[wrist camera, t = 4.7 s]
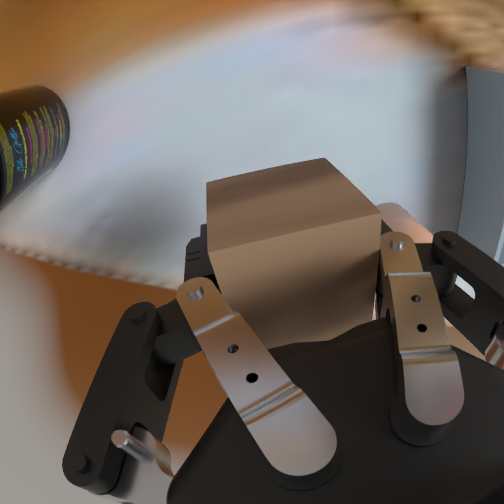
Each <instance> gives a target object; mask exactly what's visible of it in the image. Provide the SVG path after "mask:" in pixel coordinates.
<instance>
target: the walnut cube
mask: <svg viewBox="0 0 504 504" xmlns="http://www.w3.org/2000/svg"><path fill="white" fill-rule="evenodd" d="M206 195H207V247H208V255H209V258H210V261H211V264H212V267H213V270H214V273H215V276H216V279H217V282H218V285H219V288H220V291H221V294H222V296H223V298H224V299H225V301H226V302H227V303H228V305H229V306H230V308H231V309H232V310H233V312H236V311H238V312H239V313H240V314H241V316H242V317H243V318H244V320H245V321H246V322H247V324H248V325H249V326H250V328H251V329H252V330H253V332H254V333H255V334H256V336H257V337H258V338H259V340H260V341H261V342H262V344H263V345H264V346H265V348H266V349H270V348H274V347H279V346H283V345H287V344H291V343H295V342H313V341H321V340H325V339H328V338H332V337H335V336H339V335H341V334H343V333H345V332H346V331H348V330H350V329H352V328H354V327H355V326H357V325H360V324H364V323H367V322H370V321H372V316H373V309H374V301H375V293H376V284H377V274H378V263H379V250H380V236H381V216H382V213H381V212H380V211H379V210H378V209H377V208H376V206H375V205H374V204H373V203H372V202H371V201H370V200H369V199H368V198H367V197H366V196H365V195H364V194H363V193H362V192H361V191H360V190H358V189H357V188H356V187H355V186H354V185H353V184H352V183H351V182H350V181H349V180H348V179H347V178H346V177H345V176H344V175H343V174H342V173H341V172H340V171H339V170H337V169H336V168H335V167H334V166H333V165H332V164H331V163H330V162H329V161H328V160H327V159H325V158H319V159H314V160H308V161H303V162H298V163H293V164H287V165H282V166H277V167H273V168H268V169H263V170H258V171H254V172H249V173H245V174H240V175H236V176H232V177H228V178H223V179H219V180H215V181H211V182H207V183H206Z"/></svg>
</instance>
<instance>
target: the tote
mask: <svg viewBox="0 0 504 504" xmlns="http://www.w3.org/2000/svg"><path fill="white" fill-rule="evenodd" d="M466 78H467V100H468V133H467V156H466V169H465V180H464V190H463V198H462V206H461V213H460V219H459V225H458V231H457V234H458V235H459V236H461V237H462V238H464V239H465V240H467V241H468V242H470V243H471V244H473V245H474V246H476V247H477V248H478V249H480V250H481V251H483V252H484V253H485V254H487V255H488V256H490V257H491V258H492V259H494V260H495V261H496V262H498V263H499V264H500V265H502V266H503V267H504V72H500V71H494V70H489V69H482V68H476V67H468V66H466Z"/></svg>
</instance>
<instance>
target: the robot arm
mask: <svg viewBox="0 0 504 504" xmlns="http://www.w3.org/2000/svg"><path fill="white" fill-rule="evenodd" d="M185 261H186V262H185V273H184V283H183V284H182V285H180V287H179V288H178V289H177V291H176V298H175V299H174V300H173V301H171V302H169V303H168V304H165V305H163V306H161V307H159V308H157V309H156V307H155V306H154V305H153V304H152V303H149V302H140V303H137V304H134V305H133V306H131V307H130V308H128V309H127V310H126V311H125V312H124V314H123V316H122V317H121V319H120V321H119V324H118V326H117V328H116V330H115V332H114V334H113V336H112V338H111V341H110V343H109V345H108V347H107V349H106V351H105V354H104V356H103V358H102V360H101V363H100V365H99V367H98V370H97V372H96V374H95V376H94V379H93V381H92V384H91V386H90V388H89V391H88V393H87V396H86V398H85V401H84V403H83V406H82V408H81V411H80V413H79V416H78V418H77V421H76V424H75V426H74V429H73V432H72V434H71V437H70V440H69V443H68V445H67V449H66V451H65V454H64V457H63V462H62V467H63V472H64V475H65V477H66V478H67V480H68V481H70V482H71V483H72V484H74V485H76V486H78V487H81V488H83V489H86V490H88V491H89V492H90V493H92V494H94V495H97V496H99V497H102V498H105V499H107V500H110V501H113V502H119V503H122V504H504V267H503V266H502V265H500V264H499V263H498V262H496V261H495V260H494V259H492V258H491V257H490V256H488V255H487V254H485V253H484V252H483V251H481V250H480V249H478V248H477V247H476V246H474V245H473V244H471V243H470V242H468V241H467V240H465V239H464V238H462V237H461V236H459V235H458V234H456V233H454V232H450V231H440V232H437V233H435V234H434V236H433V240H432V243H414V241H413V239H412V238H411V237H410V236H409V235H407V234H405V233H402V232H393V230H392V229H391V228H390V227H389V226H388V225H387V224H386V223H385V222H384V221H383V220H382V218H381V236H380V250H379V263H378V274H377V284H376V293H375V311H376V320H373V321H370V322H367V323H364V324H360V325H357V326H355V327H354V328H352V329H350V330H348V331H346V332H345V333H343V334H341V335H339V336H337V337H336V338H334V339H332V340H329V341H313V342H295V343H291V344H287V345H283V346H279V347H274V348H270V349H266V348H265V346H264V345H263V344H262V342H261V341H260V340H259V338H258V337H257V336H256V334H255V333H254V332H253V330H252V329H251V328H250V326H249V325H248V324H247V322H246V321H245V320H244V318H243V317H242V316H241V314H240V313H239V312H238V311H236V312H233V310H232V309H231V308H230V306H229V305H228V303H227V302H226V301H225V299H224V298H223V296H222V294H221V291H220V288H219V285H218V282H217V279H216V276H215V273H214V270H213V267H212V264H211V261H210V258H209V255H208V247H207V223H206V224H202V225H201V233H200V237H197V238H193V239H191V240H190V242H189V243H188V245H187V246H186V257H185ZM457 275H458V276H460V277H461V278H462V279H463V280H465V281H466V282H467V283H468V284H470V285H471V286H472V287H473V289H474V291H475V299H473V298H472V297H470V296H469V295H468V294H467V293H466V292H464V291H463V290H462V289H461V288H460V287H458V286H457V285H456V284H455V282H456V278H457ZM443 316H444V317H445V318H446V319H447V320H448V321H449V322H450V323H451V324H452V325H453V326H454V327H455V328H456V329H458V330H459V331H460V332H461V333H462V334H463V335H464V336H465V337H466V338H467V339H468V340H469V341H470V342H471V343H472V344H473V345H474V346H475V347H476V348H477V349H478V350H479V351H480V352H481V353H482V354H483V355H484V356H485V360H486V361H484V360H481V359H479V358H477V357H475V356H473V355H471V354H469V353H467V352H465V351H463V350H460V349H458V348H456V347H454V346H452V345H450V342H449V338H448V333H447V329H446V325H445V321H444V317H443ZM200 351H203V353H204V355H205V357H206V358H207V361H208V362H209V364H210V366H211V368H212V370H213V372H214V373H215V375H216V377H217V379H218V381H219V382H220V384H221V386H222V388H223V389H224V391H225V393H226V395H227V396H228V398H227V399H226V401H225V402H224V404H223V405H222V407H221V408H220V410H219V412H218V413H217V415H216V416H215V418H214V419H213V421H212V422H211V424H210V425H209V427H208V428H207V430H206V431H205V433H204V434H203V436H202V437H201V439H200V440H199V442H198V443H197V445H196V446H195V447H194V449H193V450H192V452H191V453H190V455H189V456H188V458H187V459H186V460H185V462H184V463H183V465H182V466H181V468H180V469H179V470H178V472H177V473H176V475H175V476H174V475H173V473H172V470H171V454H170V451H169V449H168V448H167V446H166V445H165V444H163V443H162V440H163V436H164V432H165V428H166V424H167V420H168V416H169V413H170V409H171V405H172V401H173V397H174V394H175V390H176V386H177V382H178V379H179V375H180V372H181V368H182V365H183V360H184V359H185V358H187V357H189V356H192V355H194V354H196V353H198V352H200Z"/></svg>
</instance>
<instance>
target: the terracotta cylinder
mask: <svg viewBox="0 0 504 504" xmlns="http://www.w3.org/2000/svg"><path fill="white" fill-rule="evenodd" d="M376 208H377V209H378V210H379V211H380V212H381V213H382V216H381V218H382V220H383V221H384V222H385V223H386V224H387V225H388V226H389V227H390V228H391V229H392V230H393V232H402V233H405V234H407V235H409V236H410V237H411V238H412V239H413V241H414V243H432V240H433V235H432V234H431V233H430V232H429V231H428V230H427V229H426V228H425V227H424V226H423V225H422V224H420V223H419V222H418V221H417V220H416V219H415V218H414V217H413V216H411V215H410V214H409V213H408V212H407V211H406V210H405V209H403V208H402V207H401V206H400V205H398V204H395V203H383V204H380V205H378V206H376Z"/></svg>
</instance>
